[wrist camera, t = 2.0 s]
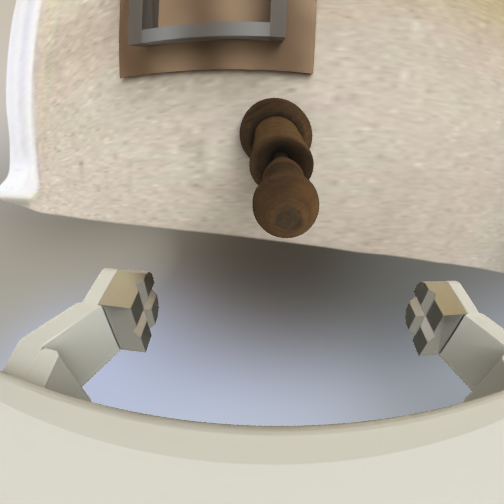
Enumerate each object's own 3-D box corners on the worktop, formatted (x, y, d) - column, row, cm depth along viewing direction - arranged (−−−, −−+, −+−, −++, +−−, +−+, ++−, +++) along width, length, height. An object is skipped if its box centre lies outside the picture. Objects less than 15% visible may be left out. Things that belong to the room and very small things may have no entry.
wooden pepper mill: (323, 135, 27) (390, 227, 12) (273, 175, 30) (280, 302, 15) (276, 84, 25) (294, 106, 10) (226, 129, 27) (176, 214, 13)
